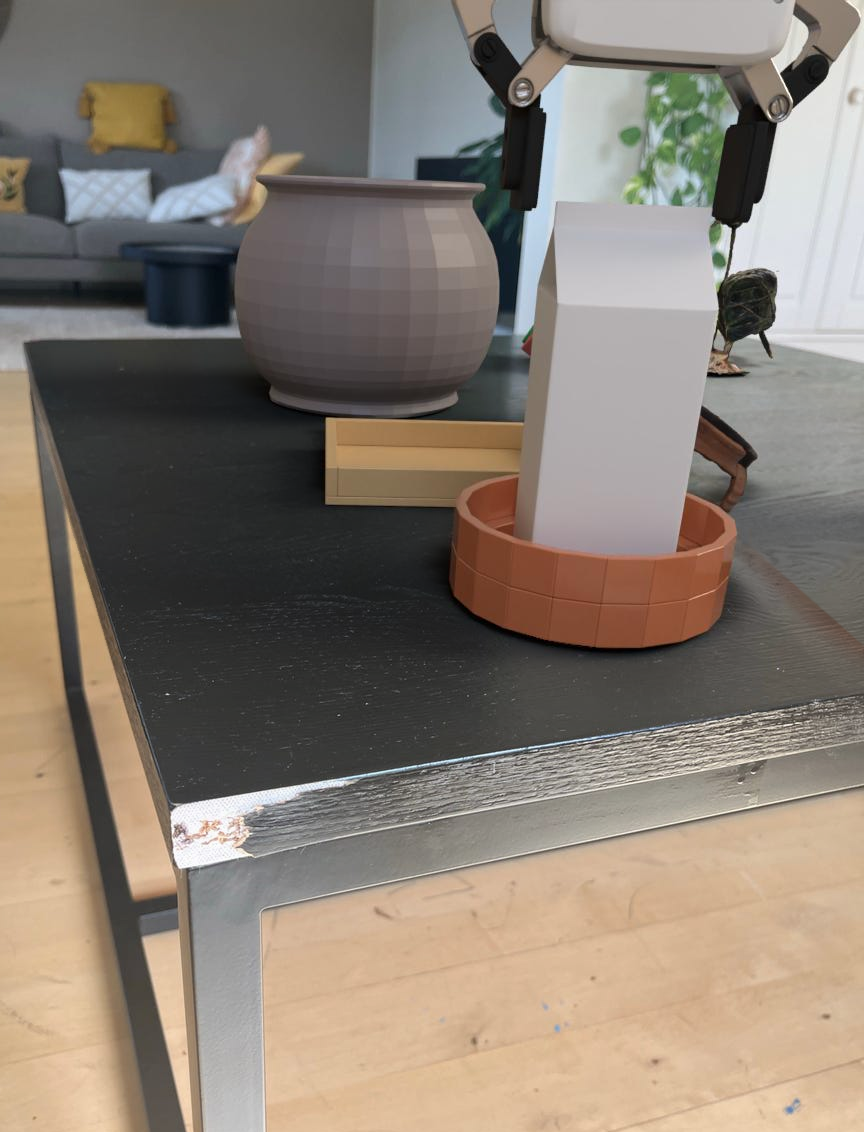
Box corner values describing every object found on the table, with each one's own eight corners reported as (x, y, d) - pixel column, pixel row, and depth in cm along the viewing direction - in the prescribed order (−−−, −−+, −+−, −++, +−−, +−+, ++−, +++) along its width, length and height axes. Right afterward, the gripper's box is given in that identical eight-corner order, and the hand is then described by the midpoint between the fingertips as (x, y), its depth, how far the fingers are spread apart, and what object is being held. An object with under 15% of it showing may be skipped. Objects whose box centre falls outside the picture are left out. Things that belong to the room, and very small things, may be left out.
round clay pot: (184, 406, 92) (172, 171, 83) (314, 367, 112) (316, 175, 104) (430, 443, 83) (445, 183, 74) (523, 393, 103) (543, 185, 95)
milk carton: (664, 620, 50) (736, 210, 42) (524, 614, 50) (568, 203, 42) (634, 568, 56) (691, 205, 48) (509, 564, 56) (545, 199, 48)
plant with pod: (770, 383, 114) (808, 194, 106) (670, 373, 117) (699, 189, 109) (768, 371, 121) (804, 193, 113) (674, 363, 124) (702, 189, 116)
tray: (540, 454, 81) (543, 422, 80) (582, 509, 68) (587, 473, 66) (325, 449, 80) (325, 417, 78) (325, 505, 66) (325, 467, 65)
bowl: (668, 554, 60) (682, 474, 58) (762, 659, 47) (784, 561, 45) (437, 551, 59) (442, 469, 57) (468, 656, 46) (476, 556, 44)
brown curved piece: (618, 477, 77) (689, 389, 73) (707, 557, 73) (787, 469, 70) (549, 466, 67) (627, 365, 64) (648, 558, 64) (736, 456, 60)
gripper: (486, -339, 34) (447, 208, 41) (970, -293, 35) (848, 230, 42) (459, -253, 40) (429, 203, 48) (865, -217, 42) (776, 222, 49)
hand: (626, 215), depth 45 cm, fingers open, 9 cm apart
